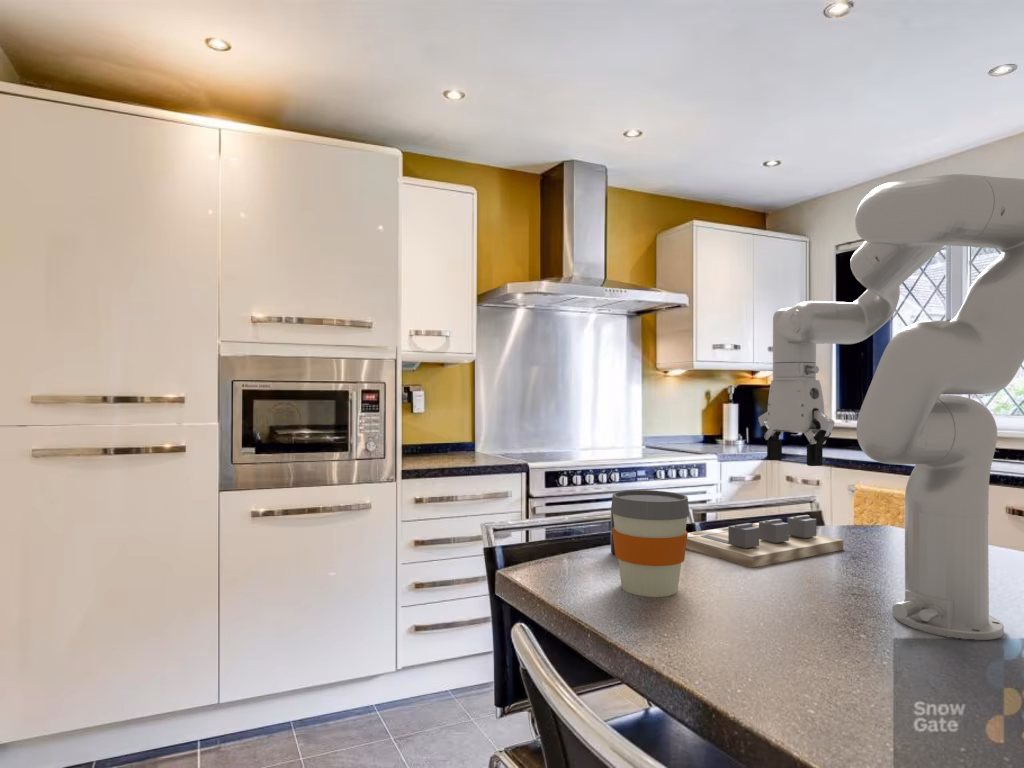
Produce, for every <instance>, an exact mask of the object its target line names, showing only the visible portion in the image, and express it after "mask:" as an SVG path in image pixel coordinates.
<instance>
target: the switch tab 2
mask: <svg viewBox="0 0 1024 768" xmlns="http://www.w3.org/2000/svg"><path fill="white" fill-rule="evenodd" d="M758 523H759V539H761V540H765V541H769V542H773V543H779V542H785V541H789V523H787V522H784V521H783V519H781V518H774V519H769V520H768V519H767V520H760V521H758Z"/></svg>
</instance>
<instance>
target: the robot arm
mask: <svg viewBox="0 0 1024 768" xmlns="http://www.w3.org/2000/svg"><path fill="white" fill-rule="evenodd" d="M854 229H855V231H856V234H857V235H858V236H859V237H860V239H862V240H863V241H864V242H863V243H862V244H861V245H860V246H859V247H858V248H857V249H856V250H855V251H854V252H853V254H852V255H851V258H850V262H849V264H850V269H851V272H852V275H853V276H854V277H855V279H856V280H857V281H858V282H859V283H860V284H861V285H862V286H863V287H864V288H866V290H865V291H864V292H863V293H862V294H861V295H860V296H858V298H857V299H855V300H853V302H846V301H822V300H821V301H820V300H817V301H816V300H814V301H813V300H809V301H802V302H800V303H797V304H795V305H794V306H792V307H785V308H780V309H778V310H776V311H775V312H774V314H773V316H772V380H771V381H770V385H769V391H768V392H769V393H768V398H767V399H768V400H767V411H766V412H764V413H763V414H760V416H758V417H757V418H758V422H759V425H760V430H761V432H762V433H763V435H764V439H765V441H766V444H767V445H766V459H767V461H781V460H782V459H783V440H782V439H780V438H781V436H782V435H783V433H796V434H797V433H798V434H804V436H805V437H806V439H807V441H808V442H809V443H807V444H806V465H807V466H808V467H819V466H822V465H823V445H825V444H826V442H827V439H829V437H831V432H832V430H833V428H834V427H835V423H836V422H835V420H834V419H832V418H831V417H829V416H828V415H826V414H825V404H824V403H825V402H824V396H823V390H822V389H823V388H822V385H821V381H820V380H819V379H817V374H818V373H819V371H820V368H819V366H817V363H816V362H817V345H818V344H819V345H820V344H822V345H823V344H831V345H833V344H835V345H854V344H857V343H858V344H859V343H860V342H863V341H865V340H867V339H868V338H869V337H871V336H873V335H874V334H875V333H876V332H878V330H880V329H881V328H882V327H883V326H885V325H886V324H887V323H888V322H889V321H890V320H891V319H892V317H893V315H894V314H895V312H896V309H897V306H898V304H899V300H900V295H901V290H900V287H901V285H902V284H903V283H904V282H905V281H907V280H908V279H909V278H910V277H911V276H913V274H914V273H916V271H918V270H919V269H920V268H921V267H922V266H924V265H925V263H927V262H928V261H929V260H930V259H931V258H933V257H934V256H935V255H936V254H937V253H938V252H939V251H941V250H942V248H944V247H945V246H953V247H955V246H956V247H969V248H985V249H986V248H989V249H998V250H999V251H1000V252H1001V253H1000V255H999V256H998V257H997V258H996V259H995V260H994V261H993V262H992V263H990V264H989V265H988V266H987V267H986V268H984V269H983V270H982V272H981V273H980V274H979V275H978V276H977V277H976V279H974V281H973V282H972V284H971V285H970V287H969V288H968V291H967V292H966V296H965V299H964V301H963V303H962V305H961V307H960V308H959V310H958V311H957V313H956V315H955V316H954V318H952V319H951V320H923V321H922V320H920V321H917V322H913V323H911V324H908V325H907V326H905V327H902V329H900V330H899V331H898V332H897V333H896V334H894V336H893V337H892V338H891V339H890V340H889V342H888V344H887V345H886V347H885V349H884V351H883V353H882V356H881V357H880V360H879V362H878V364H877V367H876V370H875V372H874V375H873V376H872V380H871V383H870V385H869V386H868V389H867V392H866V394H865V396H864V399H863V402H862V404H861V407H860V410H859V413H858V416H857V422H856V439H857V442H858V445H859V447H860V449H861V451H862V452H863V453H864V454H865V455H866V456H867V457H868V458H870V459H871V460H873V461H876V462H877V463H881V464H887V465H914V468H913V469H912V470H911V473H910V475H909V477H908V480H907V482H906V486H905V492H904V600H903V601H897V602H896V603H895V604H893V605H892V608H891V612H892V613H891V614H892V616H893V617H894V618H895V619H896V620H897V621H898V622H900V623H902V624H904V625H905V626H908V627H910V628H912V629H916V630H919V631H922V632H925V633H929V634H931V635H932V634H933V635H936V636H940V635H941V637H946V636H949V637H948V638H951V637H955V638H954V639H958V638H962V639H961V640H967V639H975V640H974V641H988V640H989V641H991V640H996V639H999V638H1001V637H1003V635H1004V634H1005V626H1004V624H1003V623H1002V622H1001V621H1000V620H999V619H997V618H996V617H994V616H992V615H990V596H989V595H990V594H989V593H990V591H989V589H990V587H989V585H990V584H989V583H990V581H989V580H990V579H989V575H990V574H989V573H990V572H989V568H990V566H989V560H990V559H989V513H990V511H989V499H990V498H989V495H990V494H989V493H990V491H989V489H990V478H991V477H990V476H991V470H992V463H993V460H994V455H995V451H996V448H997V447H996V446H997V443H998V427H997V423H996V420H995V418H994V415H993V413H991V411H990V410H989V409H988V408H987V407H986V406H984V404H982V403H981V402H980V401H979V402H978V401H976V400H975V399H972V398H969V397H966V396H963V395H987V394H993V393H997V392H999V391H1002V390H1003V389H1005V388H1006V387H1007V386H1009V385H1010V384H1011V382H1012V381H1013V380H1014V378H1015V376H1016V375H1017V373H1018V371H1019V370H1020V367H1021V366H1022V364H1023V362H1024V178H1016V177H1001V176H1000V177H999V176H998V177H997V176H991V175H989V176H987V175H978V174H963V173H958V174H957V173H955V174H942V175H936V176H935V175H934V176H928V177H921V178H913V179H906V180H905V179H903V180H896V181H895V180H894V181H891V182H886V183H883V184H881V185H879V186H877V187H874V188H873V189H872V190H871V191H869V193H868V194H866V195H865V196H864V197H863V199H862V200H861V201H860V203H859V205H858V206H857V209H856V212H855V215H854ZM961 395H962V396H961Z"/></svg>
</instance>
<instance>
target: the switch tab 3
mask: <svg viewBox="0 0 1024 768" xmlns="http://www.w3.org/2000/svg"><path fill="white" fill-rule="evenodd" d="M786 519H787V520H786V523H789V535H792V536H797V537H801V538H808V537H814V536H816V534H817V518H811V516H810V514H809V515H808V514H804V515H797V516H790V517H786Z"/></svg>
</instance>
